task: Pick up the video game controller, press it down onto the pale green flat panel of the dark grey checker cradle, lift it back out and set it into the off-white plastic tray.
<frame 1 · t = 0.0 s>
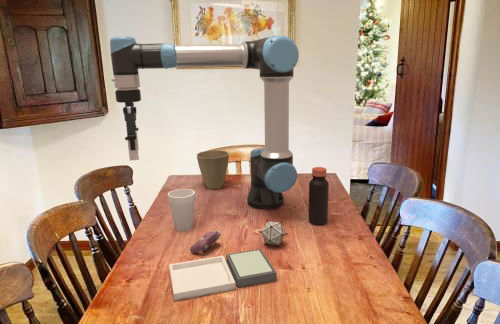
hand: (134, 155, 123), 28 cm above the table, fingers open, 13 cm apart
tray: (201, 279, 102), on the table
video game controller: (206, 249, 119), on the table
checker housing: (250, 270, 105), on the table
game die: (273, 244, 121), on the table
plant pot: (214, 187, 177), on the table
bottle: (317, 222, 136), on the table
foam cup: (183, 228, 134), on the table
pale green flat panel: (250, 264, 105), point 2 cm above the table, slide at -0.4 cm
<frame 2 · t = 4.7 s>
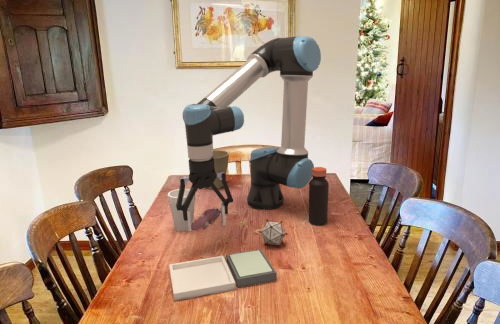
hand: (206, 226, 117), 7 cm above the table, fingers closed on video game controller, 10 cm apart
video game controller: (207, 226, 118), point 7 cm above the table, touching gripper
everything else where it was.
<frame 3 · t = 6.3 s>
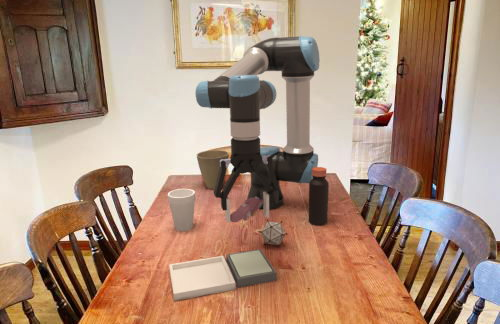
hand: (247, 218, 102), 16 cm above the table, fingers closed on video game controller, 10 cm apart
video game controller: (247, 218, 102), point 15 cm above the table, touching gripper
everything else where it was.
when the fingers open (3 cm above the table, at t = 7.9 s): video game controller stays where it is, resting on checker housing, pale green flat panel.
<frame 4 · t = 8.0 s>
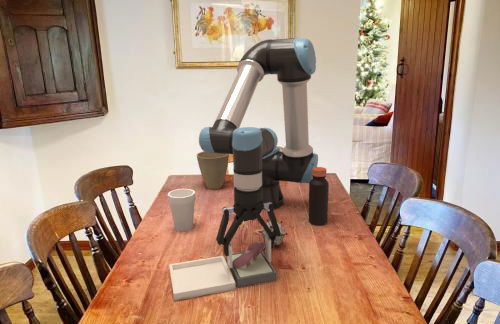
hand: (249, 262, 105), 3 cm above the table, fingers open, 10 cm apart
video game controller: (249, 262, 105), point 2 cm above the table, touching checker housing, pale green flat panel, gripper
pale green flat panel: (250, 264, 105), point 2 cm above the table, slide at -0.5 cm, touching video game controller
everything else where it was.
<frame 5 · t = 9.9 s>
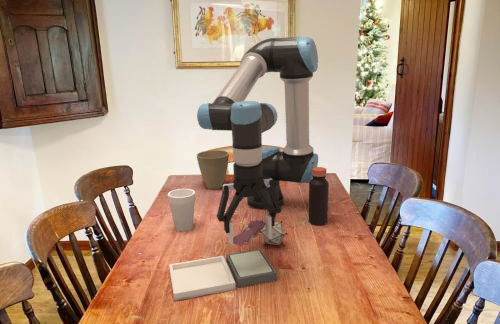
hand: (250, 239, 103), 9 cm above the table, fingers closed on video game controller, 10 cm apart
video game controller: (249, 240, 104), point 9 cm above the table, touching gripper
pale green flat panel: (250, 264, 105), point 2 cm above the table, slide at -0.5 cm
everything else where it was.
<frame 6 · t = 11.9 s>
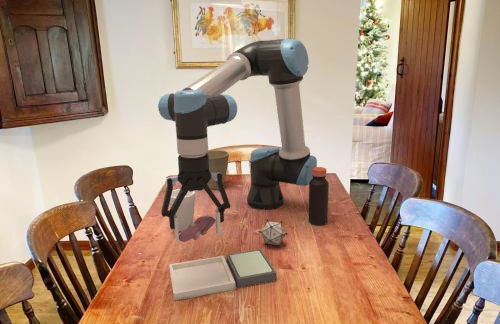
hand: (198, 236, 98), 13 cm above the table, fingers closed on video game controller, 10 cm apart
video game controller: (198, 237, 99), point 12 cm above the table, touching gripper
everything else where it was.
when the fingers open (2 cm above the table, at t = 13.9 s): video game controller drops 1 cm, resting on tray.
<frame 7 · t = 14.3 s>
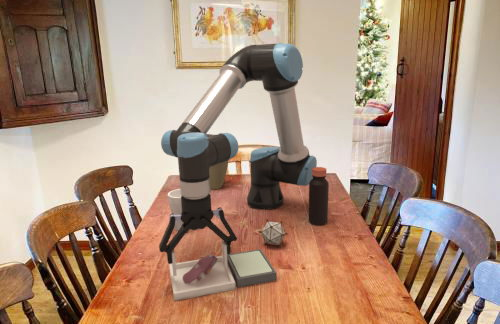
hand: (200, 269, 101), 3 cm above the table, fingers open, 13 cm apart
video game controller: (201, 277, 102), resting on tray
everything else where it was.
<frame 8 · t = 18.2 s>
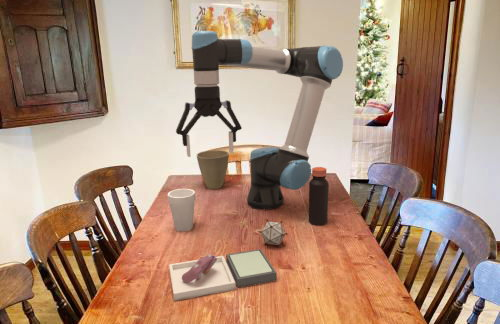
hand: (210, 154, 119), 29 cm above the table, fingers open, 13 cm apart
nothing on the table moved.
at the end: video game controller inside the target area on the tray (0.8 cm from its centre), point 0.4 cm above the tray's base; the gripper is holding nothing; pale green flat panel slide at -0.5 cm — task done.
